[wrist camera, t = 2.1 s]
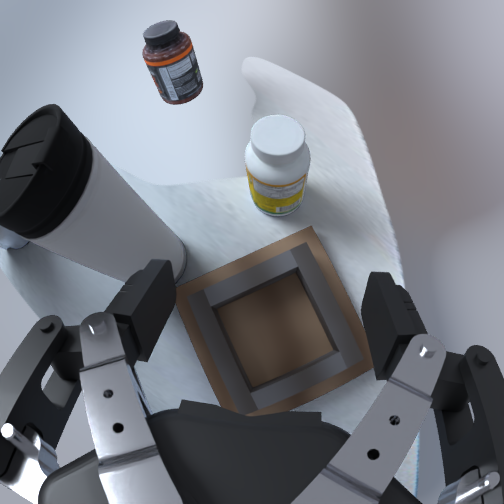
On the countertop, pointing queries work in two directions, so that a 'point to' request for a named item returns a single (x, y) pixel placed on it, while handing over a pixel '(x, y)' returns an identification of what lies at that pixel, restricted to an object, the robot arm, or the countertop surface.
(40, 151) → the travel mug
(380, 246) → the countertop surface
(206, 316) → the square tray with rim
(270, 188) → the supplement bottle
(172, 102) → the supplement bottle
